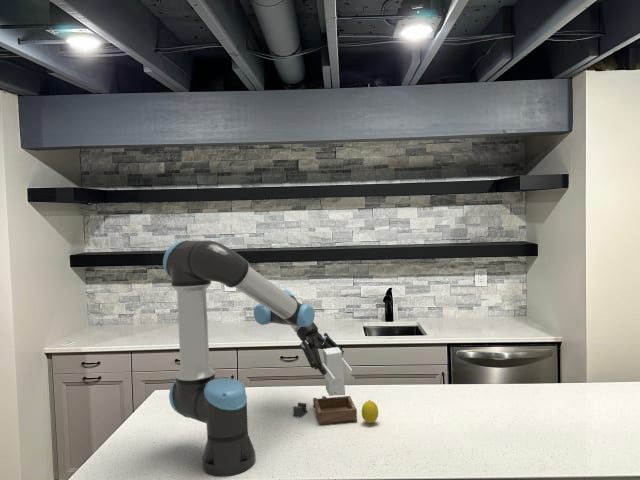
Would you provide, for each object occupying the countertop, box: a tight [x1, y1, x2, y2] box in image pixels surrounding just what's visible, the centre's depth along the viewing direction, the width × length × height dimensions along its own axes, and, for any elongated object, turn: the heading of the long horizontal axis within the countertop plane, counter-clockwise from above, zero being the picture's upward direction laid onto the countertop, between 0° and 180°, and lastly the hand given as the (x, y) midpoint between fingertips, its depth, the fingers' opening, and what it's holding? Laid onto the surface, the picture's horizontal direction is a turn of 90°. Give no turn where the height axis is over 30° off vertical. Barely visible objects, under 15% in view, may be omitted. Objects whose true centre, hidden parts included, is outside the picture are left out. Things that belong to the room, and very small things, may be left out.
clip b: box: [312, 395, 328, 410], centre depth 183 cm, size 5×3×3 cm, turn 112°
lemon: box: [361, 399, 379, 425], centre depth 166 cm, size 6×6×8 cm
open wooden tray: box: [314, 395, 358, 427], centre depth 173 cm, size 13×13×4 cm
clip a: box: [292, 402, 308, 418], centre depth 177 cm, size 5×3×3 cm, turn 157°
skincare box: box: [322, 347, 346, 397], centre depth 173 cm, size 8×6×15 cm
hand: (341, 376), depth 171 cm, fingers closed on skincare box, 9 cm apart
